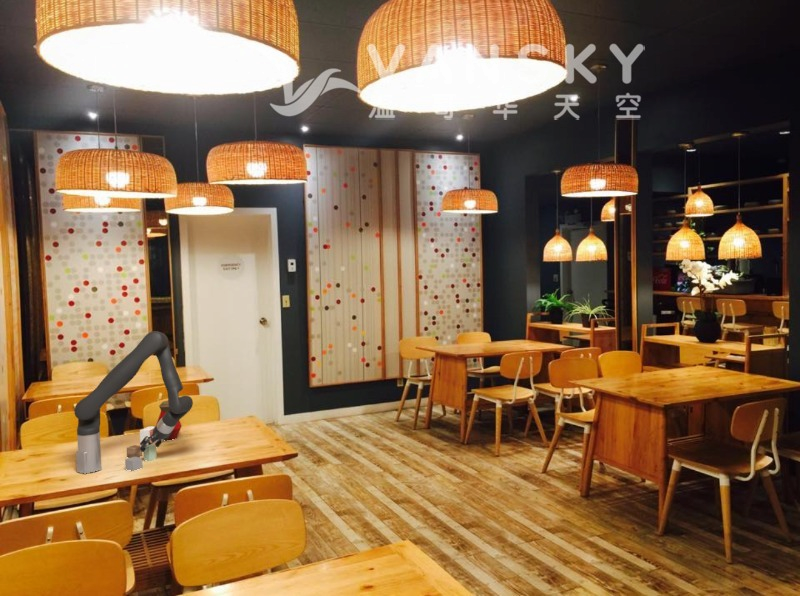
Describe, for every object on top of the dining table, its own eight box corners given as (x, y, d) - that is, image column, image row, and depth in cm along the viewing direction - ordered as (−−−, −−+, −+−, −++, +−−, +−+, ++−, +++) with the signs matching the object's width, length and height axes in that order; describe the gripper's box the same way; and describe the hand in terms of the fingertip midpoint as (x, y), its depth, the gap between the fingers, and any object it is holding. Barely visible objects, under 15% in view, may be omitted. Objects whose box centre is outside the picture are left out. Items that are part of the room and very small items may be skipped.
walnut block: (133, 459, 305) (133, 448, 305) (126, 457, 308) (126, 447, 307) (142, 456, 310) (142, 446, 309) (135, 455, 312) (135, 444, 312)
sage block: (149, 461, 300) (148, 447, 300) (143, 460, 302) (143, 446, 302) (156, 459, 304) (155, 444, 304) (150, 458, 306) (150, 443, 306)
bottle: (162, 434, 348) (160, 398, 347) (186, 434, 348) (185, 398, 346) (149, 442, 332) (148, 405, 331) (175, 442, 332) (173, 404, 331)
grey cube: (132, 471, 286) (132, 461, 286) (125, 470, 288) (125, 459, 288) (142, 468, 290) (141, 457, 290) (135, 467, 293) (134, 456, 293)
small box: (150, 451, 318) (149, 430, 317) (140, 450, 319) (139, 430, 318) (159, 446, 326) (158, 426, 325) (149, 446, 327) (148, 425, 326)
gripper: (172, 417, 304) (157, 438, 310) (148, 424, 292) (132, 445, 298) (181, 429, 302) (165, 450, 308) (156, 437, 289) (140, 458, 296)
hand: (149, 448), depth 303 cm, fingers open, 8 cm apart
